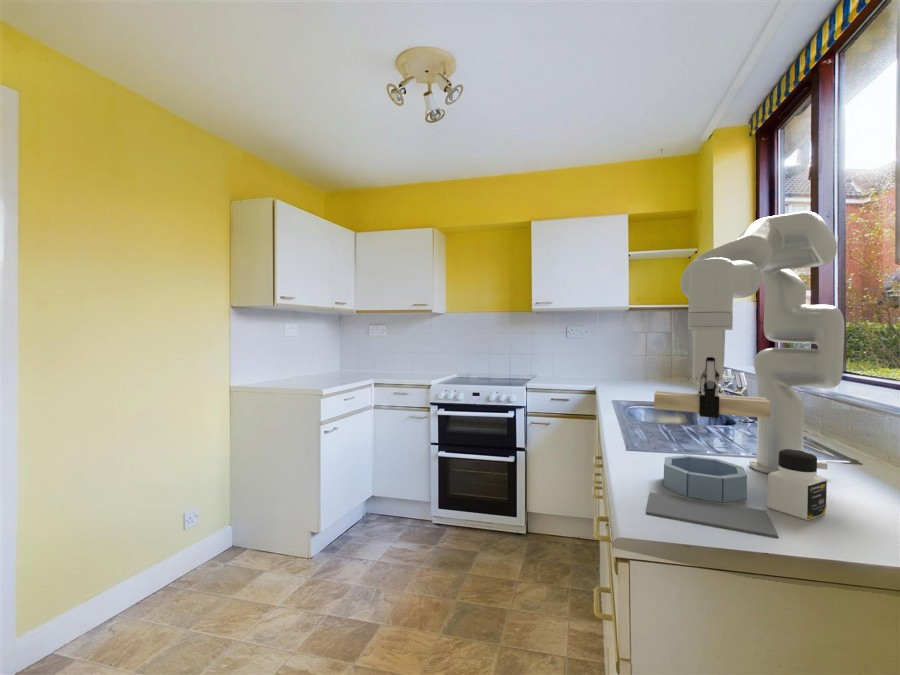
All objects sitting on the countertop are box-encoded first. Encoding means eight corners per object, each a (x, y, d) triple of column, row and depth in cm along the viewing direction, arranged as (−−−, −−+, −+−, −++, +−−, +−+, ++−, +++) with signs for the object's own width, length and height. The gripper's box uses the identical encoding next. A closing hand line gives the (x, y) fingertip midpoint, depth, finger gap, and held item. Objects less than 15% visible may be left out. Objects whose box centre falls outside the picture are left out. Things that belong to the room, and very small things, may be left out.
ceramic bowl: (740, 482, 105) (740, 461, 104) (749, 506, 90) (750, 482, 90) (665, 472, 112) (665, 452, 112) (662, 492, 98) (663, 470, 98)
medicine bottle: (808, 521, 84) (809, 458, 83) (766, 507, 90) (768, 449, 90) (826, 514, 87) (828, 453, 87) (785, 501, 93) (786, 445, 93)
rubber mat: (766, 512, 87) (766, 510, 87) (778, 537, 77) (778, 535, 77) (650, 493, 97) (650, 491, 97) (646, 513, 86) (646, 511, 86)
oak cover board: (655, 404, 94) (656, 390, 94) (764, 413, 85) (764, 397, 85) (654, 408, 89) (654, 393, 89) (769, 418, 80) (770, 401, 80)
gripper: (687, 323, 96) (686, 405, 96) (688, 321, 81) (686, 419, 81) (728, 323, 92) (726, 409, 93) (737, 321, 77) (735, 424, 77)
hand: (708, 413), depth 87 cm, fingers closed on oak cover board, 6 cm apart
